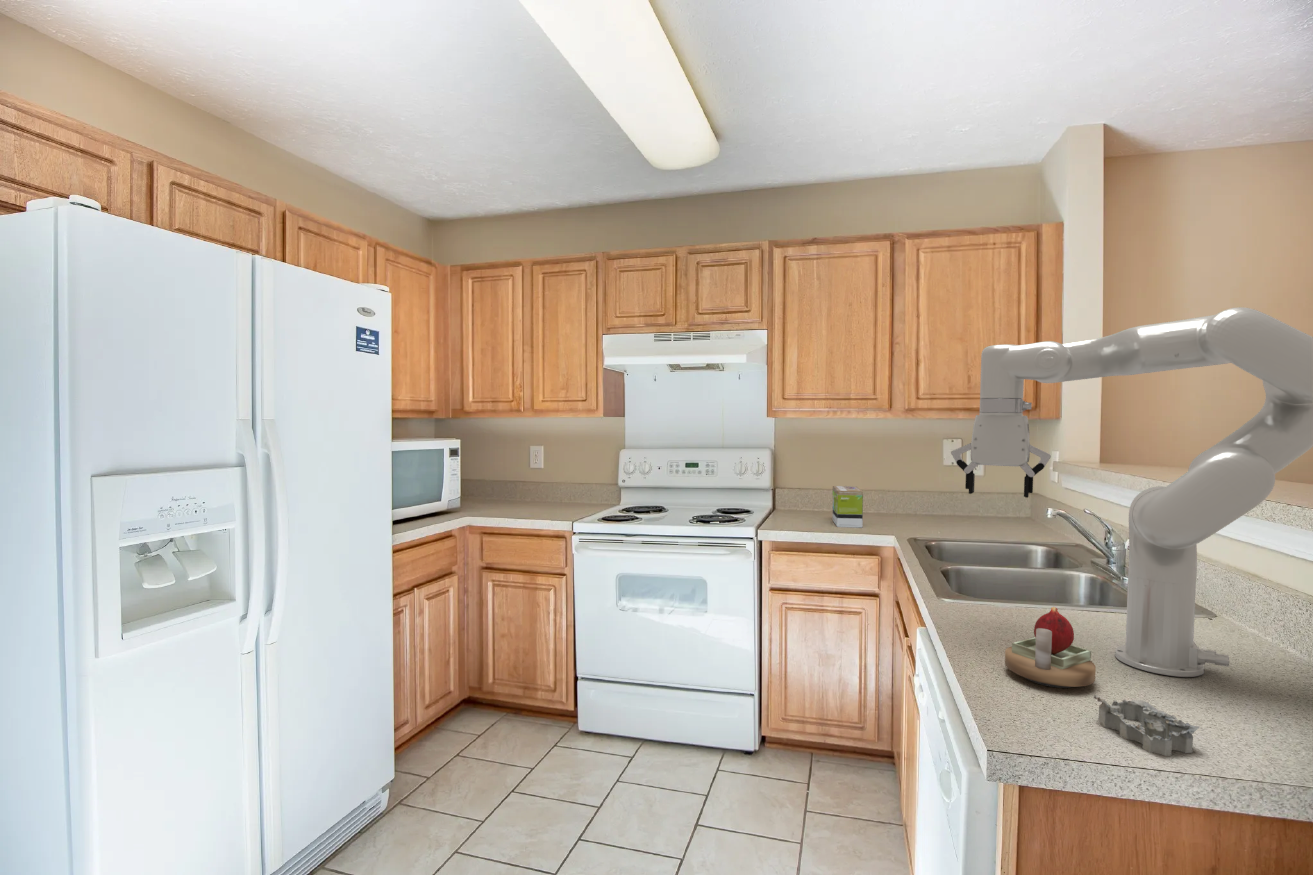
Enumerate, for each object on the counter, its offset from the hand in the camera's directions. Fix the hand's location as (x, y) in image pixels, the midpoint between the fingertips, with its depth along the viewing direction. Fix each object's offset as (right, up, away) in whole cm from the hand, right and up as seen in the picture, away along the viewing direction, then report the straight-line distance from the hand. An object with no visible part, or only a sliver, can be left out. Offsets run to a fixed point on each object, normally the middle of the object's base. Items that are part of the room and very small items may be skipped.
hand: (998, 494), depth 128 cm
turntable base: (-2, -29, -19) cm, 35 cm away
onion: (0, -26, -18) cm, 31 cm away
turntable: (-2, -28, -19) cm, 34 cm away
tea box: (+9, -24, +131) cm, 133 cm away
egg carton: (0, -30, -38) cm, 49 cm away
